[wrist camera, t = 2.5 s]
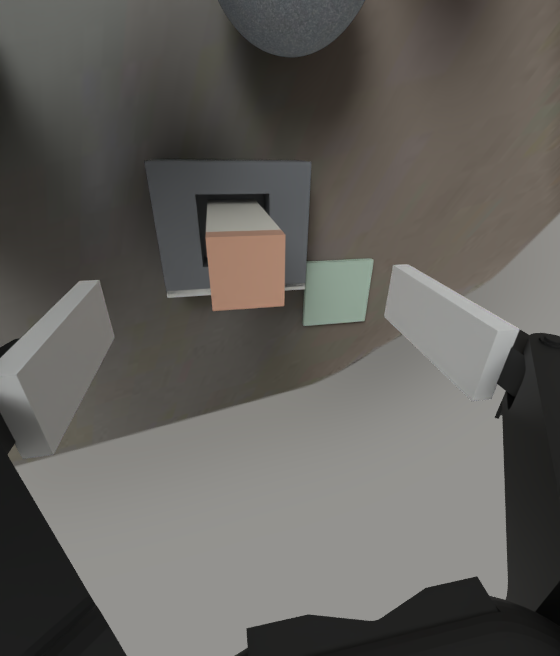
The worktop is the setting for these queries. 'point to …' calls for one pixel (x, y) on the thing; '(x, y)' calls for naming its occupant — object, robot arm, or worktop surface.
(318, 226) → the worktop surface
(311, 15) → the decorative stone
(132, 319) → the worktop surface
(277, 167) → the frame
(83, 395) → the robot arm
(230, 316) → the worktop surface
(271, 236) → the plug
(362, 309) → the pad
